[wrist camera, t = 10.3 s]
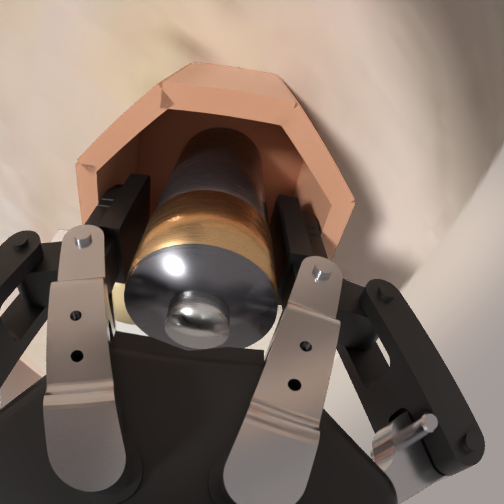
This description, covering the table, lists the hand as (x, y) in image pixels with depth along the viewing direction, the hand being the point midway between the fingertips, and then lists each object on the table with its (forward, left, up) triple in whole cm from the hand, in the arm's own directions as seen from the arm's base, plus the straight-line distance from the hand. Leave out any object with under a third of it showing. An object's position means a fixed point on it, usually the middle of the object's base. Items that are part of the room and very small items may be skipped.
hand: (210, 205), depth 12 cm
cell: (0, 0, -4) cm, 4 cm away
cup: (0, 0, -5) cm, 5 cm away
